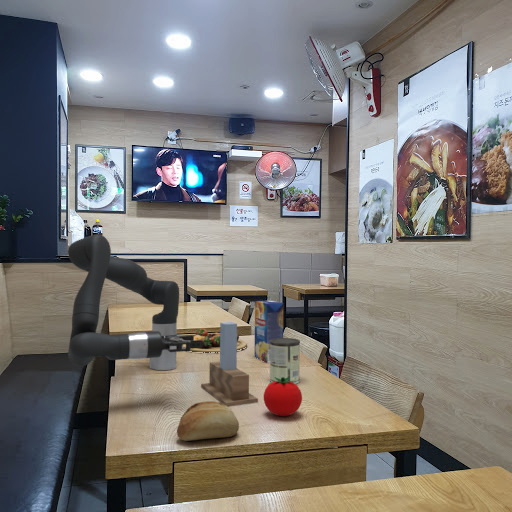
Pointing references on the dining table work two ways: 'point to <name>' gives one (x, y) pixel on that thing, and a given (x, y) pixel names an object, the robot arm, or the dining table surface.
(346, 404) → the dining table surface
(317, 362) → the dining table surface
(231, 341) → the blue gray rectangular block
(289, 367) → the coffee can
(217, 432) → the bread roll
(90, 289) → the robot arm
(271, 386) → the tomato
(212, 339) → the wooden plate with food
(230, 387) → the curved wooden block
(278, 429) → the dining table surface
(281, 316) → the juice carton
